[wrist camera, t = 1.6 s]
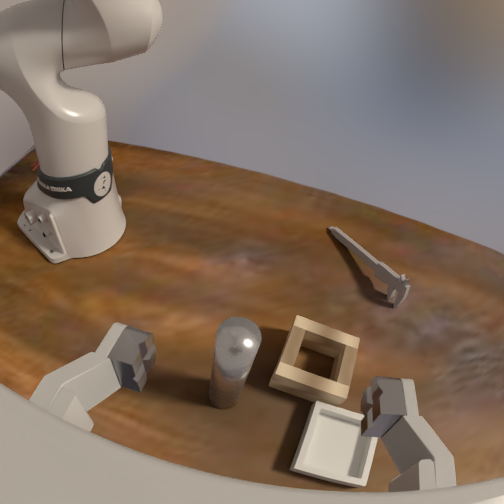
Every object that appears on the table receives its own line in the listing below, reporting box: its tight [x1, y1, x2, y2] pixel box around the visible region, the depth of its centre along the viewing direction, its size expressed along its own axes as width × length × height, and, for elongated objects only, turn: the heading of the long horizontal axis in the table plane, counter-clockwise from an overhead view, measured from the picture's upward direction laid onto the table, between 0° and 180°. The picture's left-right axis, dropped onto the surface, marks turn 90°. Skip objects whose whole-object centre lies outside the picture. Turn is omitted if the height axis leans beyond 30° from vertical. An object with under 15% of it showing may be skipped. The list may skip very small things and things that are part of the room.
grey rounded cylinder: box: [208, 317, 261, 409], centre depth 31 cm, size 4×4×15 cm
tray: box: [289, 401, 378, 488], centre depth 32 cm, size 9×9×2 cm
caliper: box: [328, 227, 410, 308], centre depth 54 cm, size 20×1×6 cm, turn 27°
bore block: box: [268, 315, 360, 407], centre depth 39 cm, size 9×9×4 cm
